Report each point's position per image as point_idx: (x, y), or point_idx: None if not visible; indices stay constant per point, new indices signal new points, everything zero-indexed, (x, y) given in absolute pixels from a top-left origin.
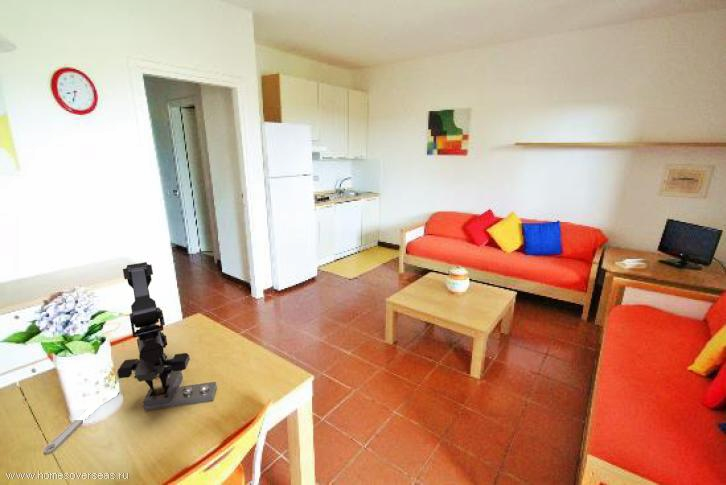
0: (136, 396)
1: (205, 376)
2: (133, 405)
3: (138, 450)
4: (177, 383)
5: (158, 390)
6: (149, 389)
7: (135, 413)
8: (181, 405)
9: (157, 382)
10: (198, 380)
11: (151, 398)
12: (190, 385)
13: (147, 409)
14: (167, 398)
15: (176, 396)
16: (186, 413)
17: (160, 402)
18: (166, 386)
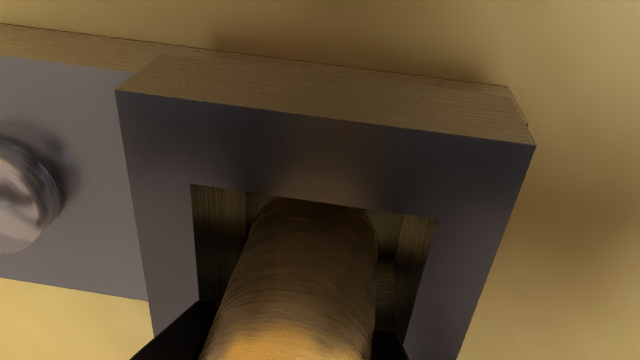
0: (587, 337)
1: (35, 353)
2: (623, 227)
3: None
4: None
5: (281, 277)
6: (450, 358)
7: (608, 80)
8: (70, 33)
9: None
10: (72, 331)
11: (391, 165)
12: (35, 278)
13: (462, 87)
14: (129, 84)
15: (112, 155)
16: None
17: (262, 77)
18: None
